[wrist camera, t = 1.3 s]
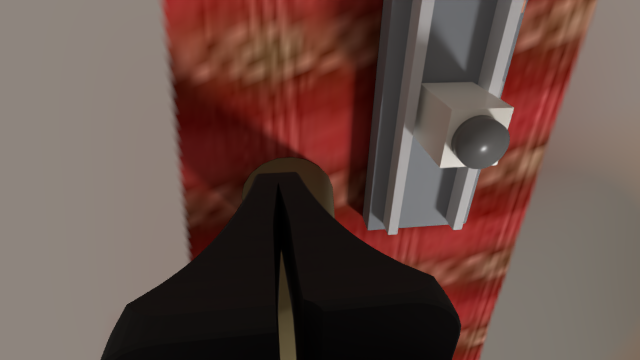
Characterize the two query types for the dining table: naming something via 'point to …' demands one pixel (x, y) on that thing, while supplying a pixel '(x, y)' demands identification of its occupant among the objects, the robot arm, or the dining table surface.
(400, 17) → the board
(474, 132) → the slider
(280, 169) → the brown tall tapered piece
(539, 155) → the dining table surface
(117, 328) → the robot arm
